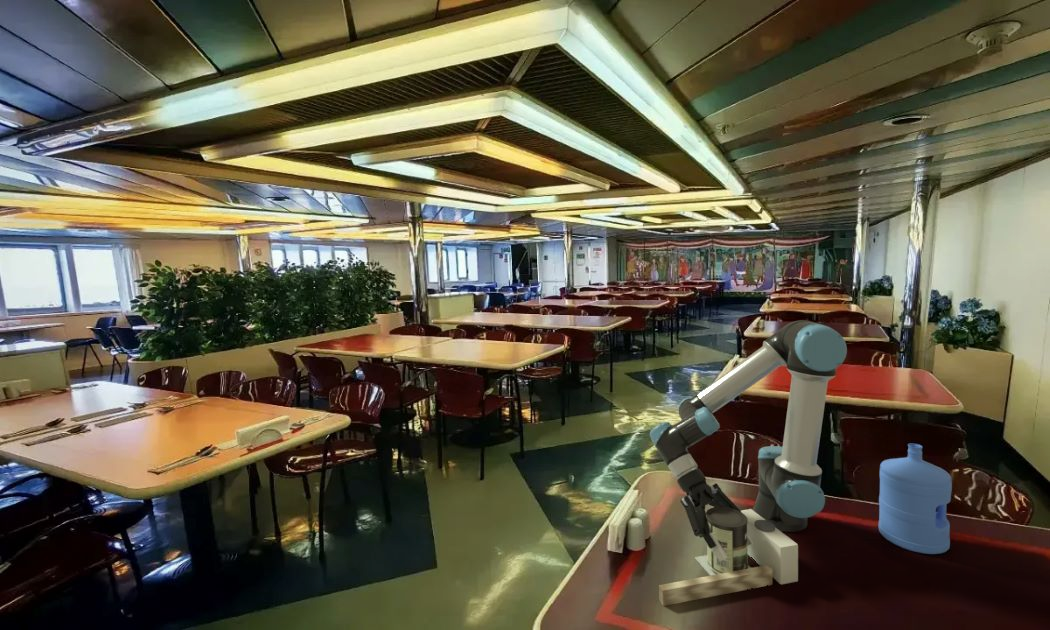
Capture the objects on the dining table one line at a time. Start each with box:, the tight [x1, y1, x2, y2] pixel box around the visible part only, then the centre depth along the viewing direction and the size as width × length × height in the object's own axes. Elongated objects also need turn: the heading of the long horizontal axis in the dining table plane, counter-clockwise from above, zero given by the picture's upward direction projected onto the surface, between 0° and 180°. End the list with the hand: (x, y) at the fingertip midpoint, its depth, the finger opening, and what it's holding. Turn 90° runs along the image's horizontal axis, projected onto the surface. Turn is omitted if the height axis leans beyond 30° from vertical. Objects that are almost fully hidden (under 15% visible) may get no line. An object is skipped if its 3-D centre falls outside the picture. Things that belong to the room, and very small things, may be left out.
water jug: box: [878, 442, 953, 555], centre depth 129 cm, size 16×16×28 cm
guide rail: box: [658, 565, 773, 607], centre depth 114 cm, size 30×2×4 cm, turn 100°
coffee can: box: [705, 506, 749, 574], centre depth 122 cm, size 10×10×14 cm
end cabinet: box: [694, 508, 799, 585], centre depth 123 cm, size 20×18×11 cm
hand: (737, 552), depth 119 cm, fingers closed on coffee can, 10 cm apart
